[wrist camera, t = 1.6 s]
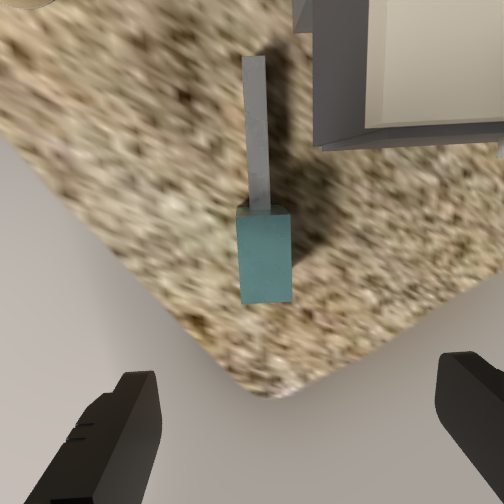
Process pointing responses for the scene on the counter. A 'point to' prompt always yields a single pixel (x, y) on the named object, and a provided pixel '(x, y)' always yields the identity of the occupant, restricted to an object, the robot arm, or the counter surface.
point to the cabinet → (405, 72)
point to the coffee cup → (26, 3)
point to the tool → (261, 204)
